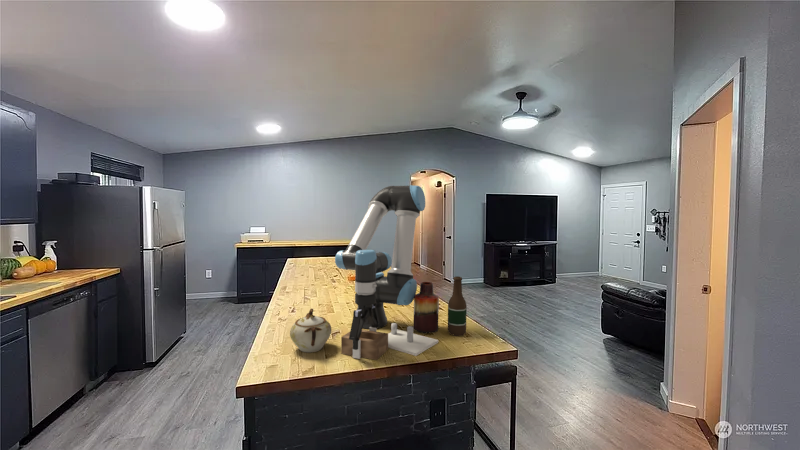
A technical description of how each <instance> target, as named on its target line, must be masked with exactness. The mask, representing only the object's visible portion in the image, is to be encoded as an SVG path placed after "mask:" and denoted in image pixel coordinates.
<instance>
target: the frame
mask: <svg viewBox="0 0 800 450" xmlns="http://www.w3.org/2000/svg"><path fill="white" fill-rule="evenodd" d="M388 333H389V332H381V331H377V330H376V331H369V329H362V332H361V335H360V338H359V339H360V340H361V358H365V359H369V360H373V361H374V360H376V361H377V360H378V359H379V358H381V357H382V356H383V355H384V354H385V353H386V352H387V351H388V350H389V348H388ZM349 335H350V331H349V332H347V333H345V334H344V335H342V336H341V341H340V342H341V343H340V344H341V345H340V346H341V347H340V349H341V353H340V354H343V355H347V356H352V357H353V340H349Z"/></svg>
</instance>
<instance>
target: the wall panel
mask: <svg viewBox="0 0 800 450" xmlns="http://www.w3.org/2000/svg"><path fill="white" fill-rule="evenodd" d="M390 328H391V330H390V332H387V333H388V349H392V350H395V351H398V352H402V353H404V354H409V355H412V356H415V357H417V356H418V355H419V354H421V353H422V354H423V352H425V351H427V350H428V349H429V348H431V347H433V346H435V345H437V344H438V343H439V339H437V338H433V337H428V336H424V335H420V334H416V333H414V329H413V326H410V325H409V326H407V327H406V330H401V329H398V323H396V322H392V323H391V326H390Z"/></svg>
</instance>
